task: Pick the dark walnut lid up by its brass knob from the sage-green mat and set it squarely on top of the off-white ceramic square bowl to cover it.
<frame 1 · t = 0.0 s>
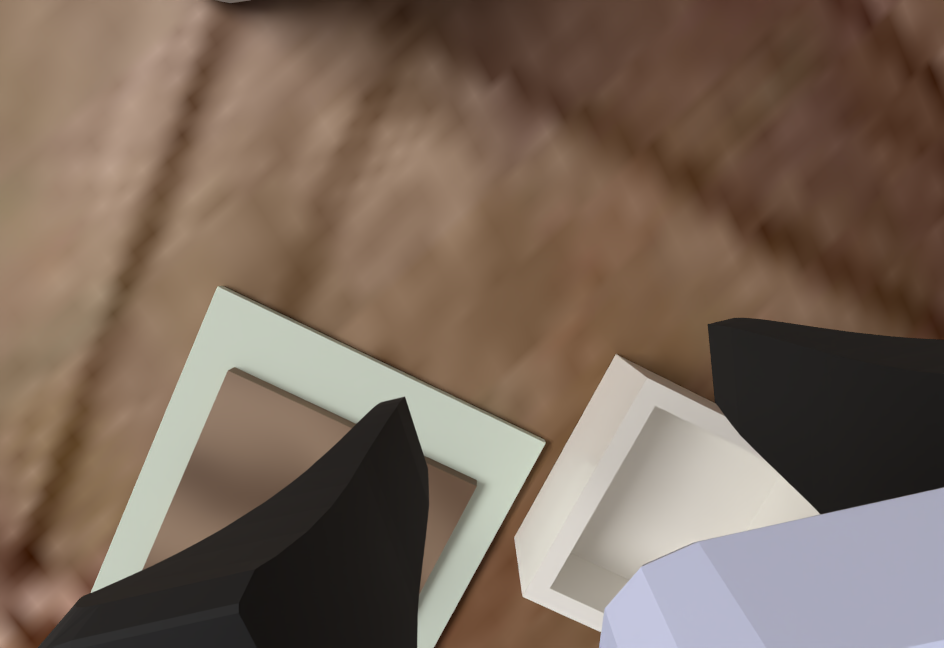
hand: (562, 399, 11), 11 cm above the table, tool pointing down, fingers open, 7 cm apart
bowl: (657, 493, 23), on the table
lid: (305, 534, 23), resting on mat
mat: (308, 529, 23), on the table
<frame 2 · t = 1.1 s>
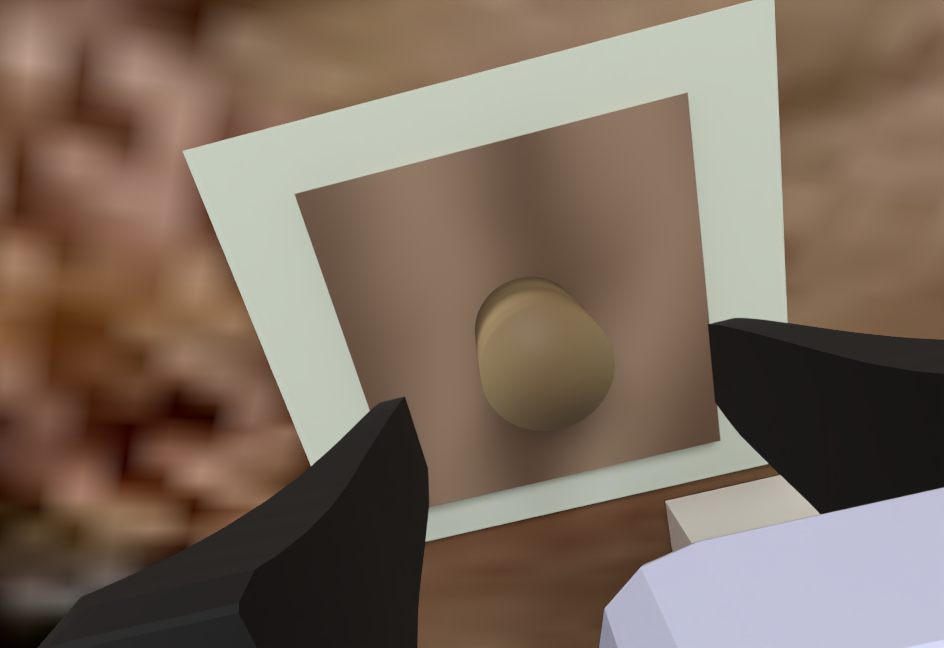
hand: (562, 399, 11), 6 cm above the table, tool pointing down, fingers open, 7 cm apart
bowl: (791, 568, 21), on the table
lid: (526, 323, 17), resting on mat
mat: (524, 320, 17), on the table
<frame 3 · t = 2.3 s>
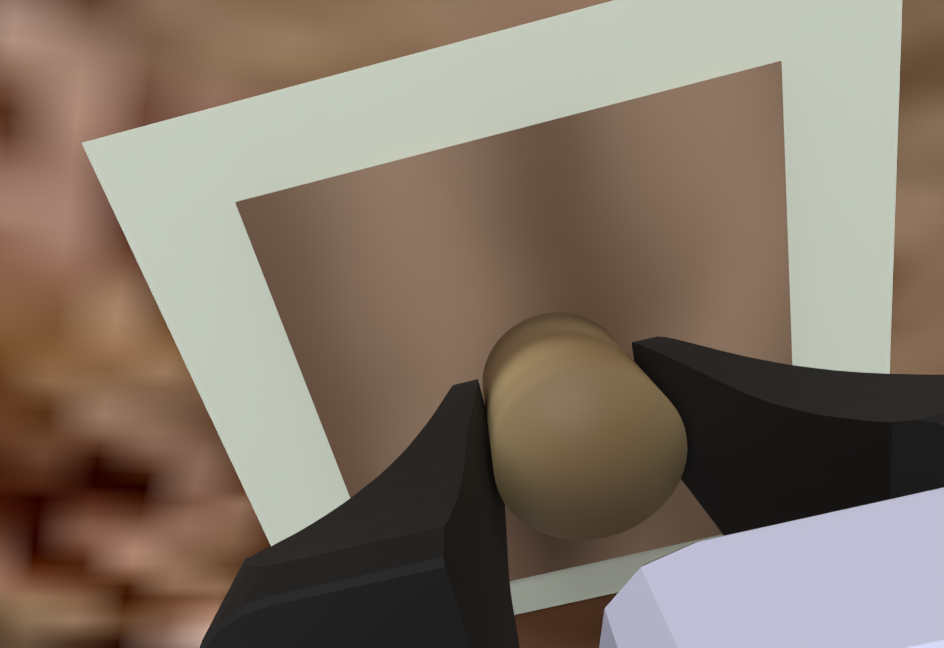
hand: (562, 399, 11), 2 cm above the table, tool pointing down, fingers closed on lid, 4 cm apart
lid: (549, 371, 13), resting on mat, touching gripper
mat: (546, 365, 13), on the table
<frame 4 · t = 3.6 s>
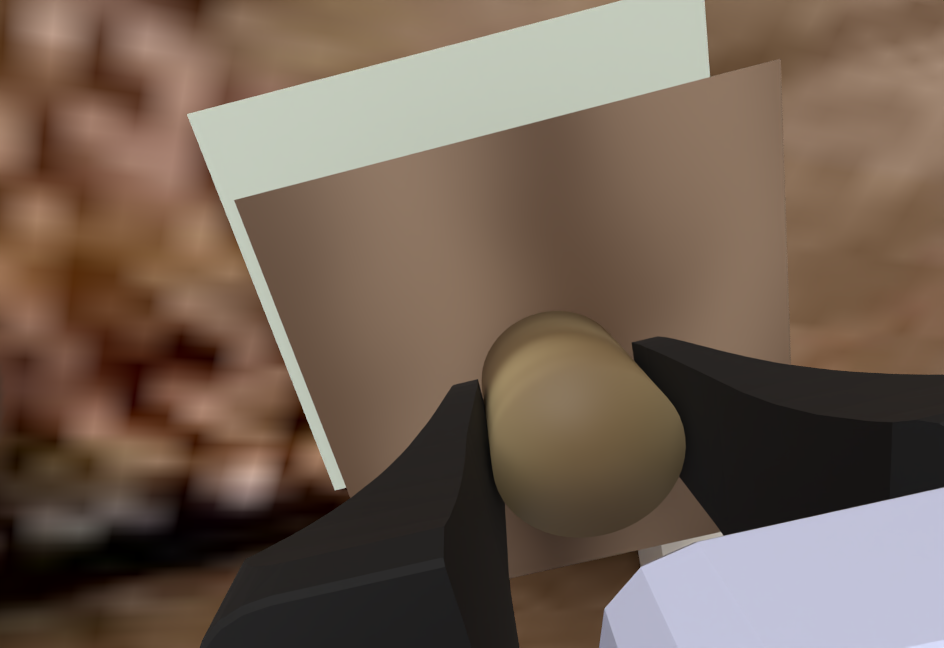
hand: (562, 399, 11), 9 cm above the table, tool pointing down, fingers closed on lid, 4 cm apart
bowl: (736, 505, 24), on the table
lid: (548, 369, 13), point 7 cm above the table, touching gripper
mat: (490, 271, 20), on the table
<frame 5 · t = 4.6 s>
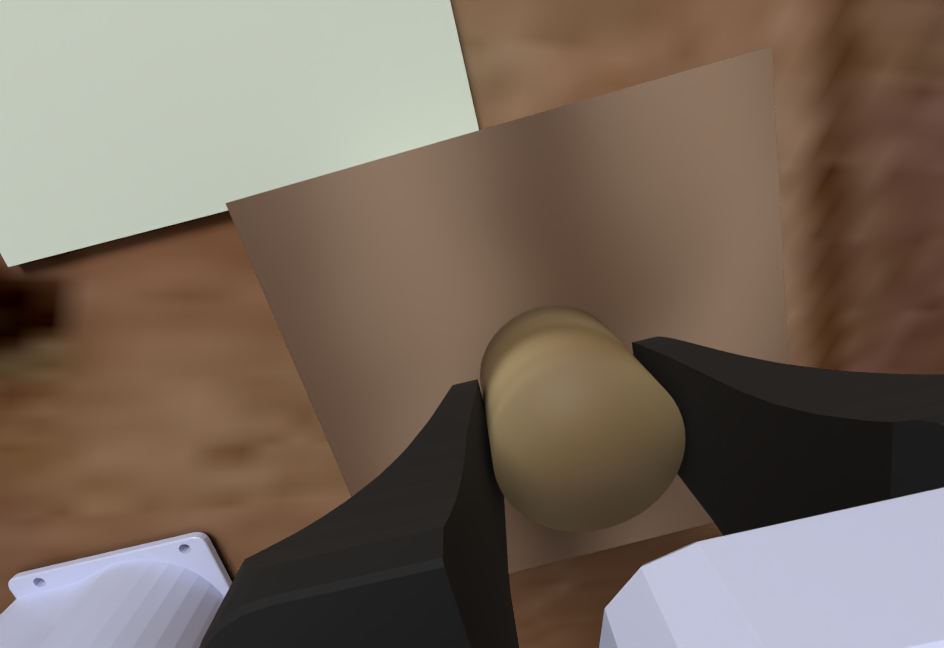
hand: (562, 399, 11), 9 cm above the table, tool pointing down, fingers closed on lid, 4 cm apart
lid: (546, 364, 13), point 7 cm above the table, touching gripper
when the fingers open (7 cm above the table, at t = 5.2 s): lid drops 1 cm, resting on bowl.
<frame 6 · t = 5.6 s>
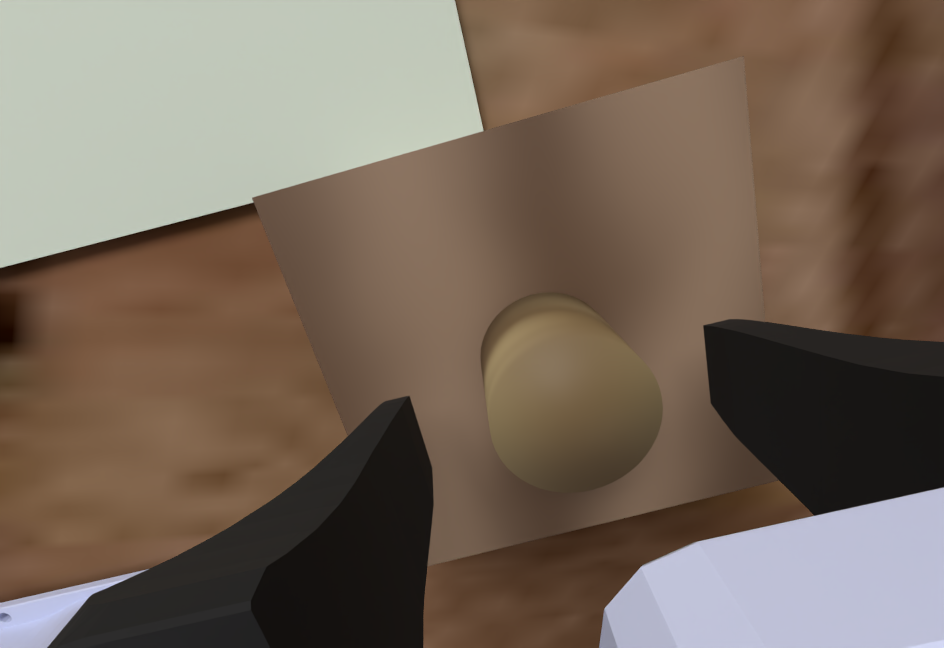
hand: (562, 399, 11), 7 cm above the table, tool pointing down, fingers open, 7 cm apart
lid: (542, 347, 14), point 4 cm above the table, touching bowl
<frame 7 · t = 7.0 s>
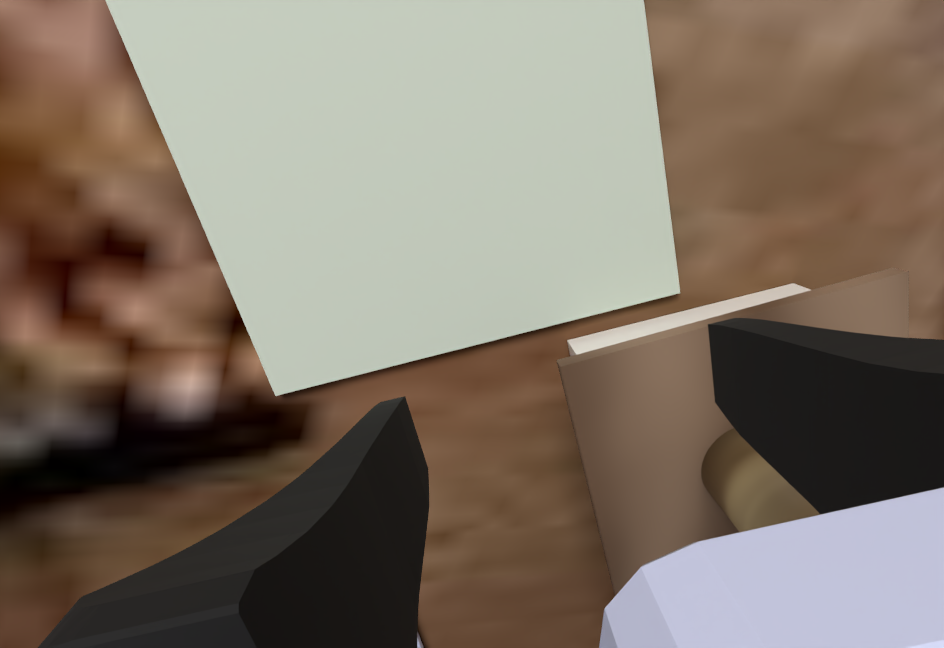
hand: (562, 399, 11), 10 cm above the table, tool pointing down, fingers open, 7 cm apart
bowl: (691, 410, 23), on the table
lid: (739, 455, 19), point 4 cm above the table, touching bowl
mat: (422, 155, 19), on the table
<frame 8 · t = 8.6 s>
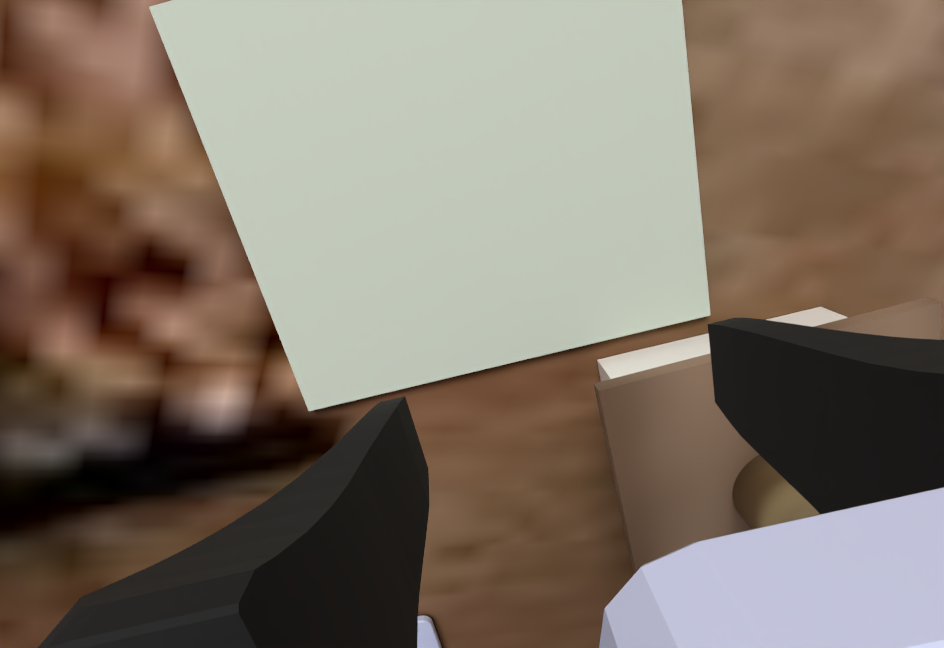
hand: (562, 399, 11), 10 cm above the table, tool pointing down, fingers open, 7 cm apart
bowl: (716, 429, 23), on the table
lid: (769, 477, 19), point 4 cm above the table, touching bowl
mat: (461, 178, 19), on the table
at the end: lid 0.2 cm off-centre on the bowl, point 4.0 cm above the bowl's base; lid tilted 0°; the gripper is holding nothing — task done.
